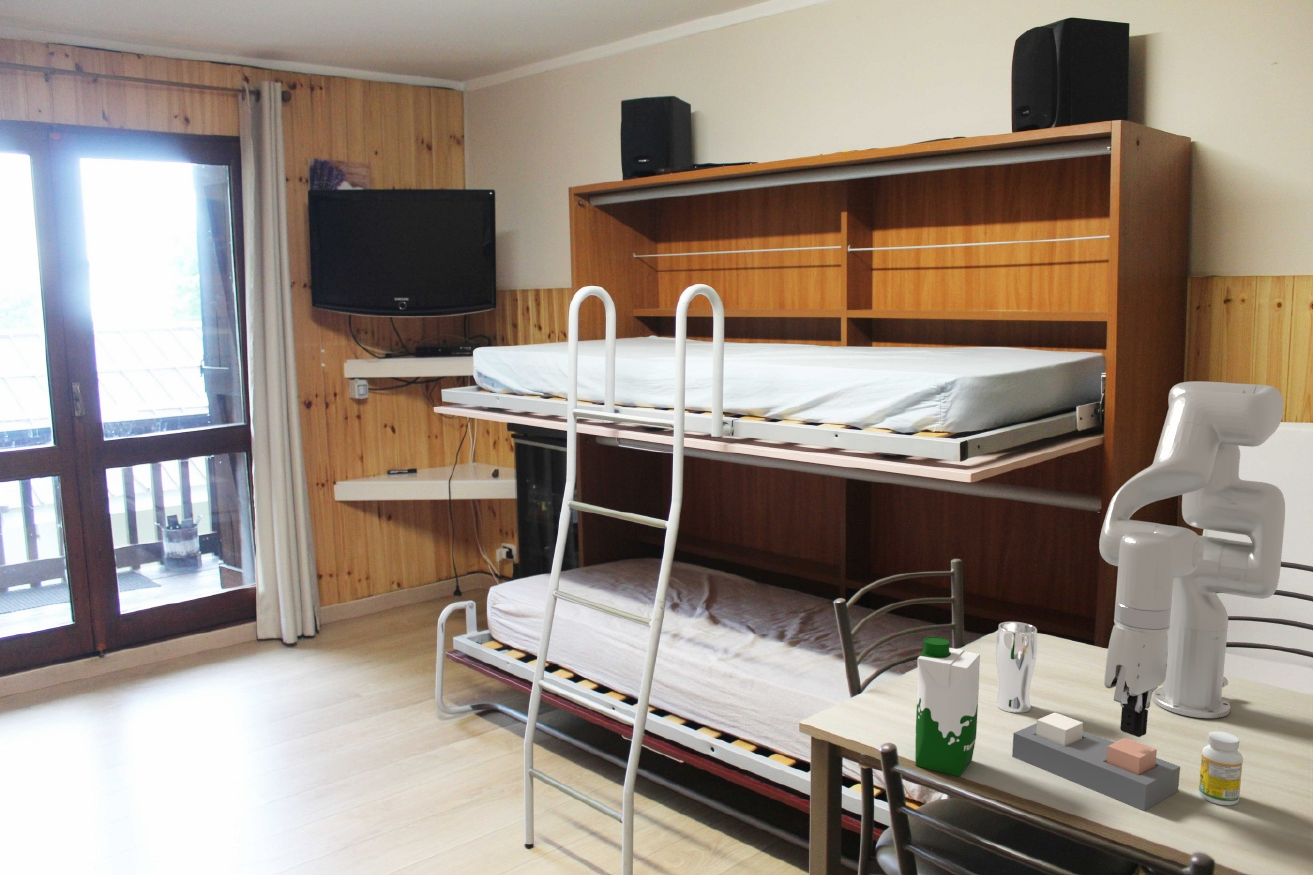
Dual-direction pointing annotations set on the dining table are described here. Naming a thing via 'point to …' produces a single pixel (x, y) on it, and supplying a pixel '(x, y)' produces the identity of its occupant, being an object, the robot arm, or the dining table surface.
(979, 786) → the dining table surface
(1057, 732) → the off-white key
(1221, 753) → the supplement bottle
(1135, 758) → the terracotta key
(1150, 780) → the key panel
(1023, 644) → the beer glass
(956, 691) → the milk carton
